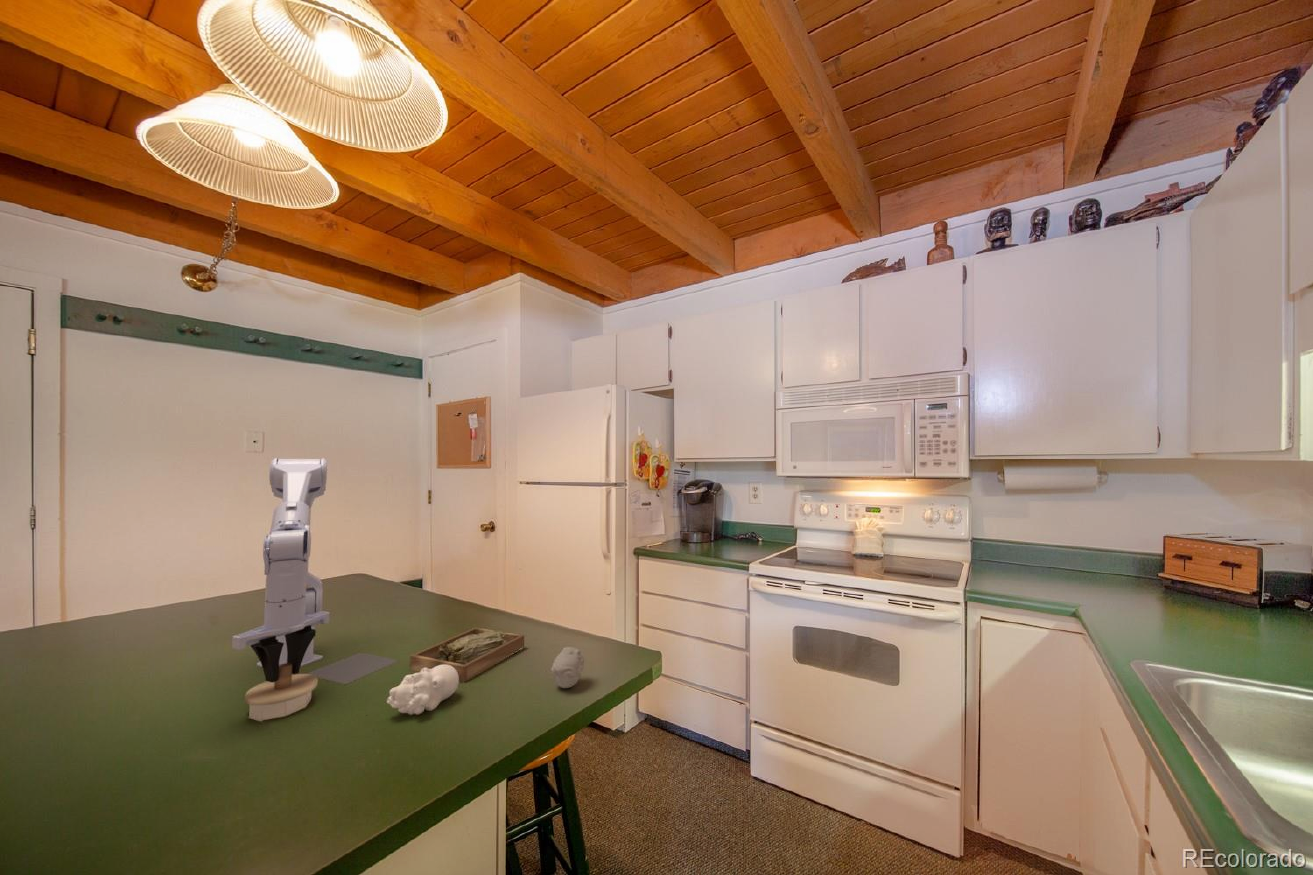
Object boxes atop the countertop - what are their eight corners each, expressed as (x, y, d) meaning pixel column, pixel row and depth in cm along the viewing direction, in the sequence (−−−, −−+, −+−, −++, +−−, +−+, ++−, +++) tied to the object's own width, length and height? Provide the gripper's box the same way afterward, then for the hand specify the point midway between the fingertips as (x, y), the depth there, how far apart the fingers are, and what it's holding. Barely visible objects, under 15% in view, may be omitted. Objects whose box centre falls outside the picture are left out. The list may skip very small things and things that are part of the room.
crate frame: (409, 670, 99) (409, 655, 99) (474, 639, 116) (475, 627, 116) (463, 682, 94) (464, 666, 94) (524, 648, 111) (524, 635, 111)
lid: (233, 697, 82) (234, 671, 82) (299, 674, 91) (299, 651, 91) (263, 710, 77) (264, 683, 77) (329, 685, 86) (330, 660, 86)
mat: (304, 675, 97) (304, 674, 97) (360, 653, 108) (361, 652, 108) (344, 685, 92) (344, 684, 92) (399, 662, 103) (399, 660, 103)
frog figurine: (590, 681, 94) (591, 645, 94) (570, 697, 87) (570, 658, 88) (565, 676, 96) (565, 640, 97) (543, 690, 90) (543, 653, 90)
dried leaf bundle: (454, 678, 96) (454, 650, 96) (432, 665, 102) (433, 639, 103) (516, 656, 107) (517, 631, 107) (493, 645, 113) (494, 622, 114)
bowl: (240, 714, 82) (241, 696, 82) (291, 694, 89) (292, 677, 89) (269, 724, 79) (270, 705, 79) (319, 702, 86) (320, 684, 86)
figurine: (472, 684, 87) (412, 709, 77) (453, 706, 89) (392, 733, 78) (455, 651, 90) (395, 671, 80) (437, 673, 92) (376, 695, 81)
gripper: (251, 612, 77) (248, 699, 76) (341, 590, 90) (338, 664, 89) (226, 607, 79) (222, 691, 79) (316, 586, 93) (314, 658, 92)
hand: (282, 676), depth 84 cm, fingers open, 3 cm apart
